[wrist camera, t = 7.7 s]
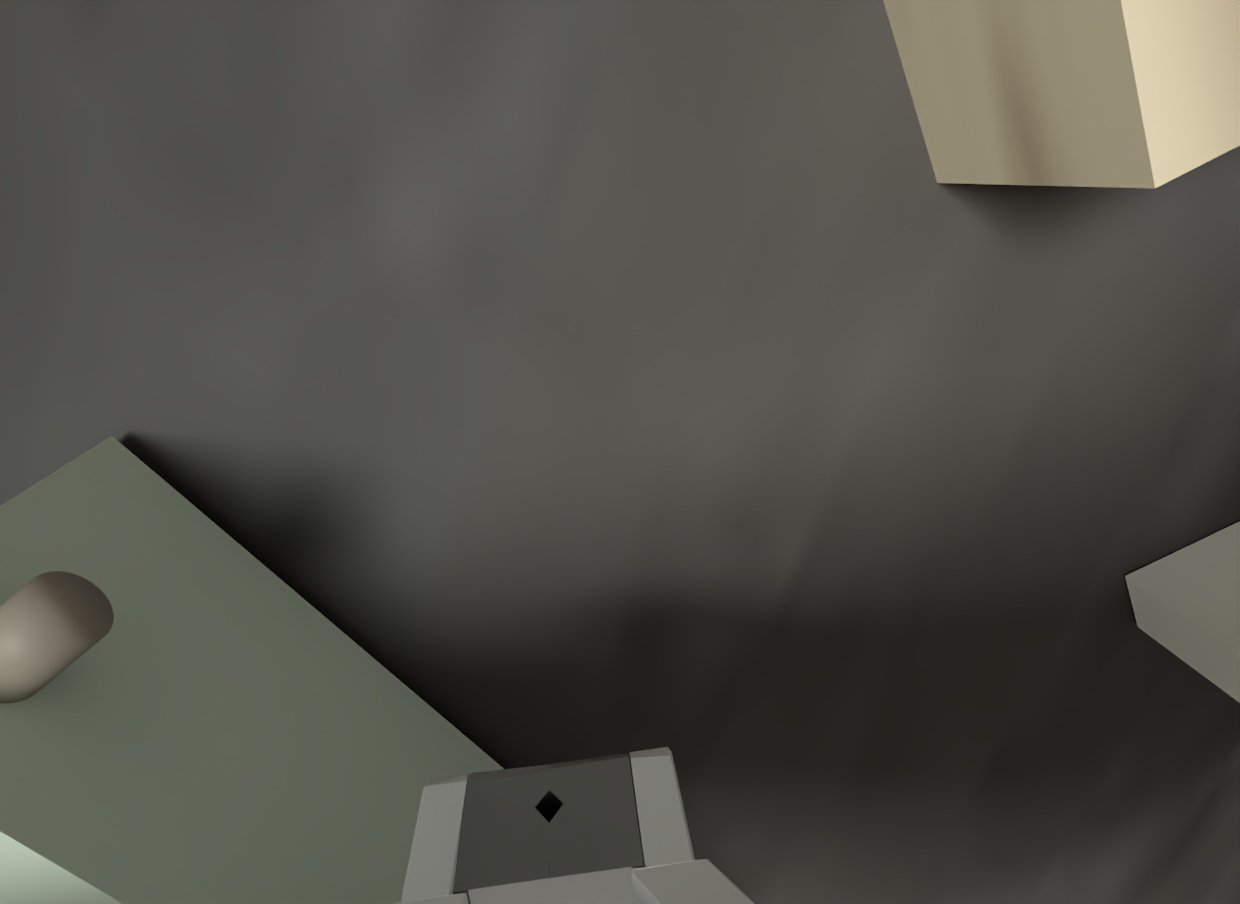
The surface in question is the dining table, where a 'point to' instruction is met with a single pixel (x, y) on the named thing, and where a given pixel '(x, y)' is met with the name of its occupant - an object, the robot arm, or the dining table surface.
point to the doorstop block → (1071, 88)
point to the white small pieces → (1195, 606)
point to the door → (190, 713)
